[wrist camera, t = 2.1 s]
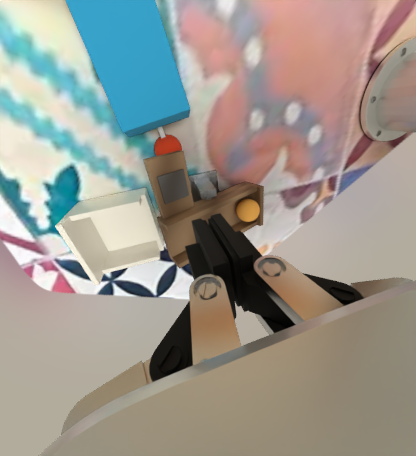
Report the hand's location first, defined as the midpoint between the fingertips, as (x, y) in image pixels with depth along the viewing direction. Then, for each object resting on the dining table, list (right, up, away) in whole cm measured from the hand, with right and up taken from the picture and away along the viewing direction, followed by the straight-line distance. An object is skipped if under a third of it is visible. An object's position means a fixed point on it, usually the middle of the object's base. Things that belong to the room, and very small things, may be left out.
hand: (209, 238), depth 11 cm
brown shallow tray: (-1, +5, +15) cm, 16 cm away
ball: (+5, +3, +15) cm, 17 cm away
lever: (-8, +18, +10) cm, 22 cm away
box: (-13, +2, +18) cm, 22 cm away
